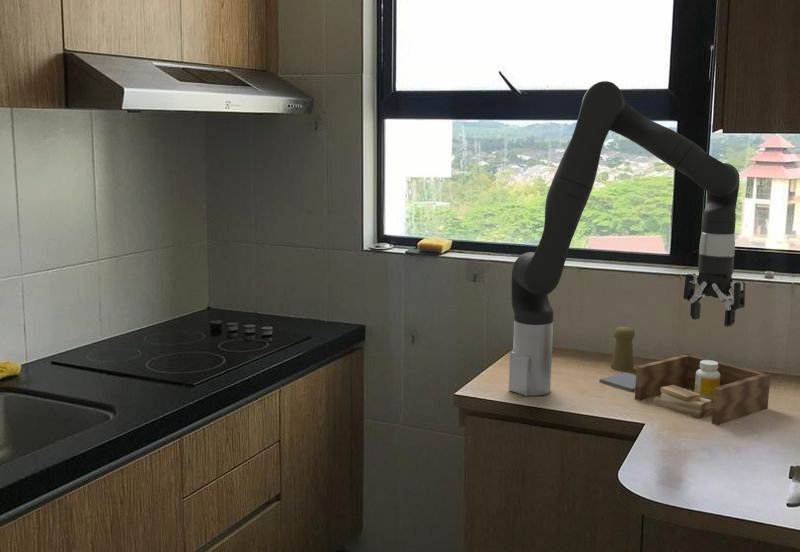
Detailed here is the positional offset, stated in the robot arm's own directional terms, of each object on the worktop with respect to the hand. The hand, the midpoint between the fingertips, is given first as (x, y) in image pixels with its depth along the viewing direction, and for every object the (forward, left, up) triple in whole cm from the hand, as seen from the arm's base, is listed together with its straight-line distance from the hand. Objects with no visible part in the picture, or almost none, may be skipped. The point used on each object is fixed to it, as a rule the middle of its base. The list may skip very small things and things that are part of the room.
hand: (711, 322), depth 202 cm
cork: (+7, +30, -19) cm, 36 cm away
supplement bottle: (0, 0, -19) cm, 19 cm away
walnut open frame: (-3, 0, -19) cm, 19 cm away
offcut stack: (-9, 0, -19) cm, 21 cm away
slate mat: (-3, +20, -19) cm, 28 cm away
